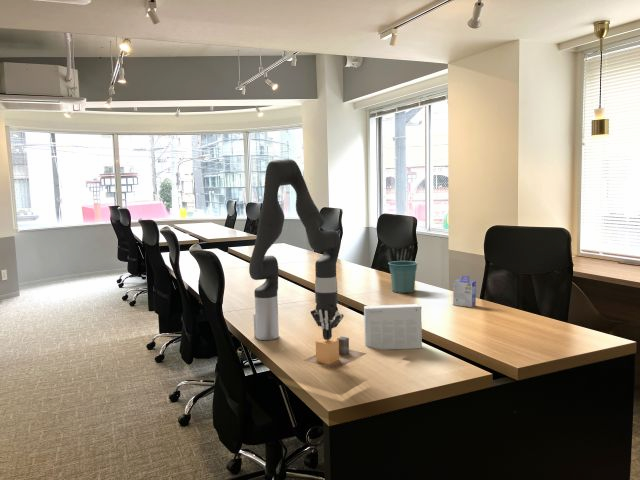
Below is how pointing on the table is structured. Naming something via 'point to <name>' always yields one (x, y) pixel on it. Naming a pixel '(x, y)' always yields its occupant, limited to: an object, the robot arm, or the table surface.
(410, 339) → the skincare box
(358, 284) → the table surface
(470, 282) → the ink cartridge box
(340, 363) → the post board
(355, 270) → the table surface
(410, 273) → the flower pot
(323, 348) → the peach wooden cube
